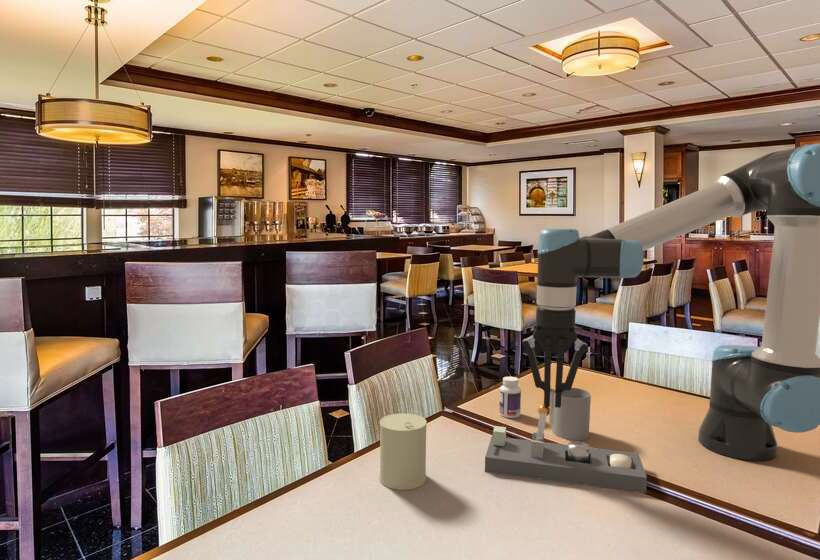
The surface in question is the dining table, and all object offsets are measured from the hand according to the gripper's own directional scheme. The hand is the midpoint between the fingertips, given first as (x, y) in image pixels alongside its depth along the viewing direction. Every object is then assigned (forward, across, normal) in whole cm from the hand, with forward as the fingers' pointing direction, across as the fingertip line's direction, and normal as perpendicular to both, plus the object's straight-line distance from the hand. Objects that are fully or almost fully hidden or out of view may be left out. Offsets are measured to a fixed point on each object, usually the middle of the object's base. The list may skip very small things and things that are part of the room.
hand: (551, 422), depth 107 cm
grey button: (+8, -5, 0) cm, 9 cm away
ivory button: (+10, -13, 0) cm, 16 cm away
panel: (+10, -2, 0) cm, 10 cm away
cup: (+10, -4, -20) cm, 23 cm away
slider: (+7, +11, -2) cm, 13 cm away
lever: (+6, +3, 0) cm, 6 cm away
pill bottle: (+10, +10, -28) cm, 32 cm away
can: (+10, +28, +13) cm, 32 cm away
